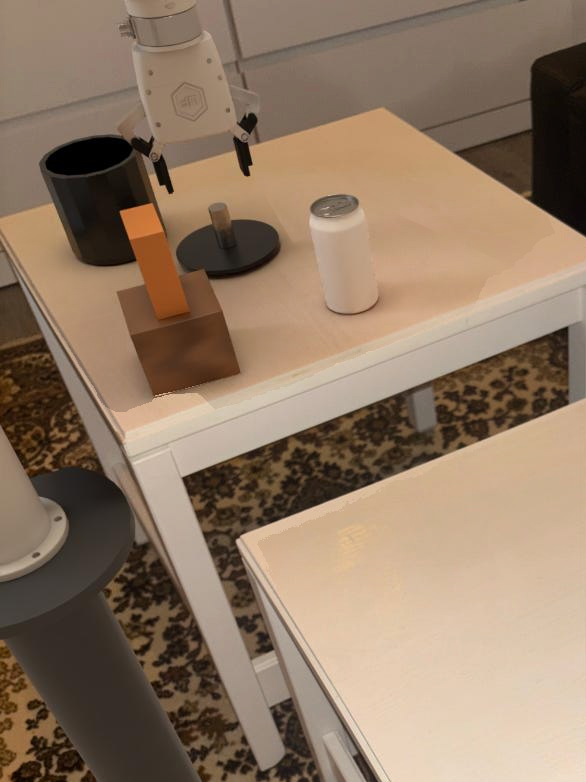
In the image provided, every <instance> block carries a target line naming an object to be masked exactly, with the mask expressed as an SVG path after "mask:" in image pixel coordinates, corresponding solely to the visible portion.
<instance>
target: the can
mask: <svg viewBox="0 0 586 782" xmlns="http://www.w3.org/2000/svg"><path fill="white" fill-rule="evenodd" d="M309 211H310V216H309V219H308V220H309V221H308V223H309V231H310V234H311V235H310V236H311V239H312V244H313V248H314V249H313V250H314V252H315V253H314V254H315V257H316V262H317V267H318V272H319V277H320V281H321V287H322V291H323V295H324V300H325V304H326V306H327V308H328V309H330V310H331V311H332V312H335V313H337V314H340V315H356V314H361V313H364V312H367V311H368V310H370V309H371V308H373V307H374V306H375V304H376V303H377V302H378V300H379V289H378V283H377V278H376V271H375V266H374V265H375V264H374V260H373V253H372V248H371V241H370V236H369V235H370V234H369V230H368V225H367V219H366V214H365V211H364V210H363V208H362V207H361V206H360V200H359V199H358V197H356V196H354V195H352V194H348V193H334V194H327V195H324V196H321V197H319V198H317V199H315V200H314V201H313V202H312V203H311V204H310V206H309Z"/></svg>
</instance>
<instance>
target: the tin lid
mask: <svg viewBox="0 0 586 782" xmlns="http://www.w3.org/2000/svg"><path fill="white" fill-rule="evenodd" d="M207 211H208V214H209V217H210V220H211V223H210V224H207V225H205V226H202V227H199V228H198V229H196V230H194V231H192V232H190V233H189V234H188V235H186V236H185V237H184V238H183V239H182V240H181V241H180V242H179V243H178V245H177V247H176V250H175V253H176V259H177V262H178V263H179V265H180V266H181V267H182V268H184V269H185V270H187V271H189V272H194V271H198V270H202V269H204V270H205V272H206V275H207V276H208V275H210V276H219V275H229V274H234V273H240V272H242V271H246V270H249V269H252V268H255V267H257V266H259V265H261V264H263V263H265V262H266V261H268V260H269V259H270V258H271V257H273V256H274V254H276V252H277V250H278V249H279V247H280V244H281V243H280V242H281V240H280V234H279V232H278V231H277V228H276V227H274V226H272V225H271V224H270V223H266V222H265V221H261V220H256V219H248V218H247V219H245V218H244V219H243V218H241V219H231V216H230V212H229V209H228V205H227V204H226V203H225V202H214V203H211V204H210V205H209V206H208V207H207Z"/></svg>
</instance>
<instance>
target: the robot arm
mask: <svg viewBox="0 0 586 782" xmlns="http://www.w3.org/2000/svg"><path fill="white" fill-rule="evenodd" d="M123 3H124V6H125V8H126V13H127V16H126V17H125V18H126V20H123V22H117V28H118V31H119V35H120V37H121V38H123V37H128V38H132V40H135V41H134V42H133V43H132V44H131V54H132V62H133V68H134V73H135V79H136V84H137V88H138V93H139V97H140V101H138V103H136V104H135V105H134V106H133V107H132V108H131V109H129V111H128V112H127V113H125V114H124V115H123V116H122V117H121V118H120V119H119V120H118V121H117V122H116V123H115V127H116V131H118V133H119V135H122V136H123V137H124V138H125V139H126V140H127V142H129V143H130V145H131V146H132V147H133V148H134V149H135V150H137V151H138V152H140V153H141V154H142V156H144V157H146V158H148V159H149V160H150V162H151V163H152V166H153V169H154V173H155V176H156V179H157V183H158V185H159V187H162V186H163V187H165V189H166V191H167V194H168V195H172V194H174V193H175V189H174V186H173V183H172V179H171V176H170V173H169V168H168V165H167V162H166V159H165V157H164V156H163V151H164V149H165V148H166V147H165V146H166V145H175V144H180V143H186V142H190V141H194V140H199V139H204V138H208V137H213V136H217V135H218V136H219V135H222V134H226V133H229V132H230V133H231V134H232V135H233V137H232V141H233V146H234V149H235V154H236V158H237V162H238V167H239V169H240V171H241V173H242V175H243V177H246V178H249V177H251V171H250V168H249V167H252V166H254V163H253V158H252V155H251V150H250V146H249V145H250V144H249V141H250V140H251V139H250V137H251V134H252V132H253V131H254V129H255V127H256V126H257V124H258V121H259V120H258V118H259V115H260V111H261V107H262V103H263V99H262V97H261V96H260V95H259V94H258V93H257V92H254V91H251V90H248V89H246V88H242V87H239V86H236V85H233V84H229V83H228V79H227V75H226V72H225V69H224V67H223V63H222V60H221V57H220V54H219V51H218V48H217V47H216V46H217V45H216V44H215V42H214V39H213V36H212V35H211V34H210V33H209V32H208V31H207V30H204V29H203V26H202V21H201V18H200V13H199V10H198V5H197V1H196V0H123ZM233 100H234V101H237V102H240V103H243V104H246V111H245V113H244V114H243V116H242V118H241V120H240V121H238V119H237V118H238V117H237V113H236V109H235V105H234V101H233ZM144 119H146V122H147V125H148V127H149V130H150V135H149V138H148V139H147V140H145V139H144V138H142V137H140V136H139V135H137V134H136V132H135V131H134V129H135V127H136V126H137V125H138V124H139V123H141V122H142V121H143V120H144ZM29 478H30V477H29V476H28V474H27V472H26V470H25V468H24V466H23V464H22V462H21V461H20V458H19V457H18V455H17V453H16V452H15V449H14V447H13V446H12V444H11V442H10V440H9V438H8V437H7V435H6V433H5V431H4V429H3V427H2V425H1V424H0V582H5V581H10V580H13V579H16V578H19V577H22V576H24V575H26V574H29V573H31V572H33V571H34V570H36V569H38V568H40V567H41V566H43V565H44V564H45V563H47V562H48V561H49V560H51V559H52V558H53V557H54V556H55V555H56V554H57V553H58V551H59V550H60V549H61V547H62V546H63V545H64V543H65V541H66V539H67V536H68V532H69V521H68V519H67V517H66V514H65V512H64V511H63V509H62V508H61V506H59V505H58V504H57V503H56V502H54V501H52V500H50V499H47V498H43V497H39V496H38V494H37V492H36V490H35V489H34V487H33V485H32V483H31V481H30V479H29Z"/></svg>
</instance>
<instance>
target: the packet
mask: <svg viewBox="0 0 586 782" xmlns="http://www.w3.org/2000/svg"><path fill="white" fill-rule="evenodd" d="M120 214H121V217H122V220H123V223H124V226H125V228H126V231H127V234H128V237H129V240H130V243H131V245H132V248H133V251H134V254H135V257H136V259H135V260H136V263H137V265H138V268H139V271H140V273H141V277H142V279H143V282H144V284H145V285H146V288H147V291H148V293H149V296H150V299H151V302H152V305H153V308H154V310H155V313H156V316H157V319H158V320H160V319H164V318H168V317H171V316H175V315H179V314H183V313H186V312H190V310H189V307H188V304H187V301H186V298H185V295H184V291H183V288H182V285H181V282H180V279H179V273H178V270H177V267H176V264H175V261H174V257H173V255H172V252H171V248H170V246H169V242H168V240H167V235H166V236H165V233H164V230H163V228H162V225H161V223H160V220H159V218H158V215H157V213H156V211H155V208H154V206H153V203H151V204H147V205H143V206H138V207H134V208H130V209H126V210H122V211H120Z"/></svg>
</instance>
